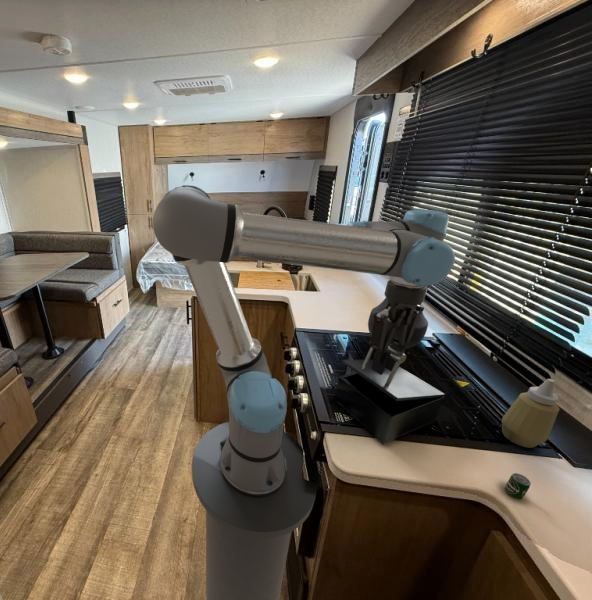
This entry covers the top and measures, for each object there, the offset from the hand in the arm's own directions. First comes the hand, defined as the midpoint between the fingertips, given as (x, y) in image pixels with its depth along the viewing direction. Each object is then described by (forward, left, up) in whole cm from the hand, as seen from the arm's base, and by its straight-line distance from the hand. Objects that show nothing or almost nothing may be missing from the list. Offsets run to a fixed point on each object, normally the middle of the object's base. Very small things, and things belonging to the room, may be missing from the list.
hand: (382, 369), depth 77 cm
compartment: (+3, +3, -16) cm, 16 cm away
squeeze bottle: (+33, +5, -16) cm, 37 cm away
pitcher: (+10, +37, -16) cm, 42 cm away
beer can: (+25, -13, -16) cm, 33 cm away
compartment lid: (+3, +3, -4) cm, 6 cm away
